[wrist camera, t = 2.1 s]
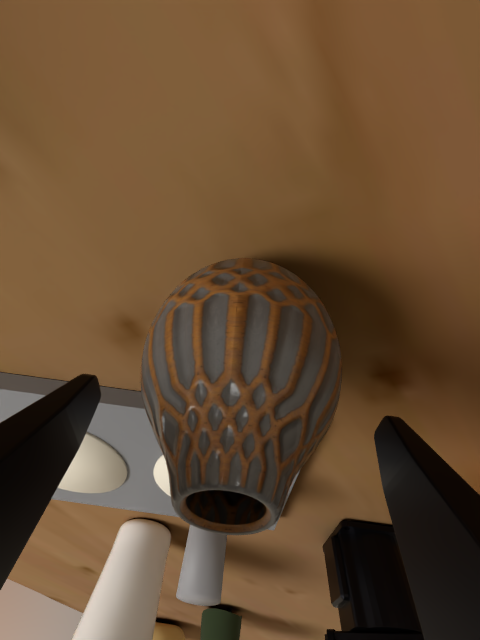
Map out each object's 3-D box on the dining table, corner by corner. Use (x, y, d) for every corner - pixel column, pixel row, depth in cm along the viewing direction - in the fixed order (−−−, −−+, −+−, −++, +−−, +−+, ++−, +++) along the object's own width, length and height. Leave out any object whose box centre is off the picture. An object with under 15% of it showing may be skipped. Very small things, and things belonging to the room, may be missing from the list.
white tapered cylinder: (104, 512, 28) (-31, 823, 15) (167, 512, 26) (79, 848, 14) (130, 540, 31) (39, 810, 19) (187, 541, 30) (131, 829, 17)
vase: (188, 361, 16) (119, 559, 8) (164, 238, 12) (-4, 401, 4) (314, 363, 15) (359, 580, 8) (330, 234, 11) (453, 416, 4)
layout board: (313, 415, 17) (340, 571, 11) (273, 514, 25) (276, 638, 19) (-37, 367, 17) (-205, 494, 11) (32, 480, 25) (-45, 592, 19)
